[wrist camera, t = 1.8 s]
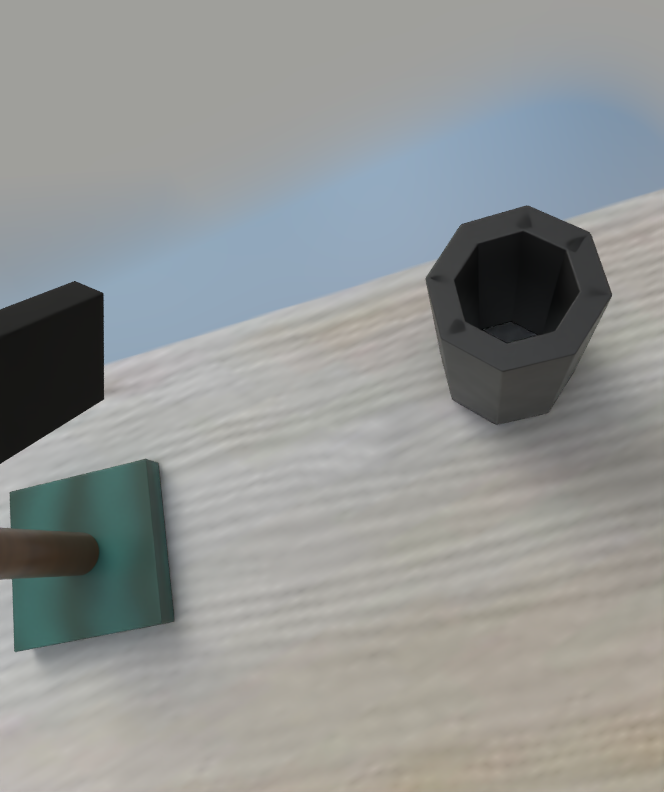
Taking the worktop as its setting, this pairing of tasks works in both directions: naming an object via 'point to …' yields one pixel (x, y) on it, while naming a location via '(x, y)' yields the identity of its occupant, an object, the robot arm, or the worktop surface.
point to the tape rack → (87, 556)
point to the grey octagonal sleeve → (515, 310)
